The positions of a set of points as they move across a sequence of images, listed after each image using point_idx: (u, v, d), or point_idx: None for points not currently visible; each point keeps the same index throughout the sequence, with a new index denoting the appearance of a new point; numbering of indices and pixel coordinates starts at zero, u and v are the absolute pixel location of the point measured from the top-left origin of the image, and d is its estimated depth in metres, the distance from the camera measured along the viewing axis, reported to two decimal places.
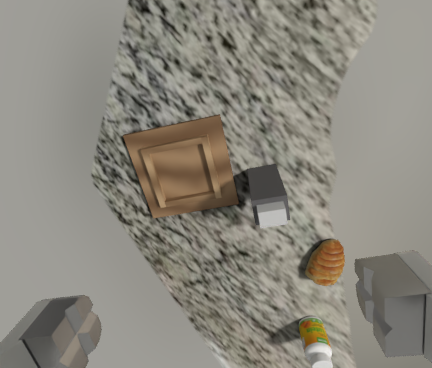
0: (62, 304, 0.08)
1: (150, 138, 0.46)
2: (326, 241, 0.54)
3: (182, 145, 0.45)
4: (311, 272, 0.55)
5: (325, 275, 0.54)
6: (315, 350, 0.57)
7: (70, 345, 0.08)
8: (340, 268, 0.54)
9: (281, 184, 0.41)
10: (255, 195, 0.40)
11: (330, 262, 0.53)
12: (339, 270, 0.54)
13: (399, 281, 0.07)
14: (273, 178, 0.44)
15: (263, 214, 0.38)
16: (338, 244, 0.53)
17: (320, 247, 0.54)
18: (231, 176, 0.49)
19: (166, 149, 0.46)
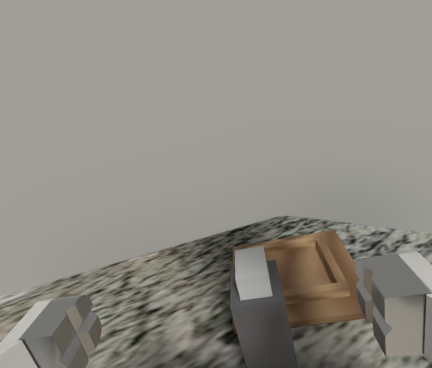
0: (62, 304, 0.08)
1: (334, 247, 0.41)
2: None
3: (331, 264, 0.36)
4: None
5: None
6: None
7: (70, 345, 0.08)
8: None
9: (290, 331, 0.22)
10: None
11: None
12: None
13: (399, 281, 0.07)
14: None
15: (259, 251, 0.23)
16: None
17: None
18: None
19: (324, 252, 0.38)
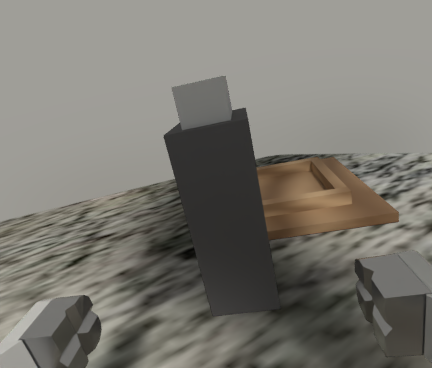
0: (62, 304, 0.08)
1: (333, 168, 0.33)
2: None
3: (328, 176, 0.28)
4: None
5: None
6: None
7: (70, 345, 0.08)
8: None
9: None
10: None
11: None
12: None
13: (399, 281, 0.07)
14: None
15: None
16: None
17: None
18: None
19: (320, 168, 0.31)
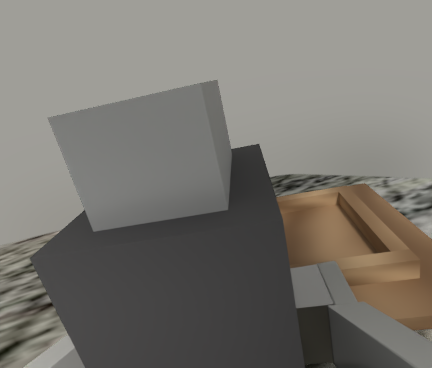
0: None
1: (369, 204, 0.24)
2: None
3: (373, 223, 0.19)
4: None
5: None
6: None
7: None
8: None
9: None
10: None
11: None
12: None
13: (309, 292, 0.07)
14: None
15: None
16: None
17: None
18: None
19: (355, 207, 0.22)
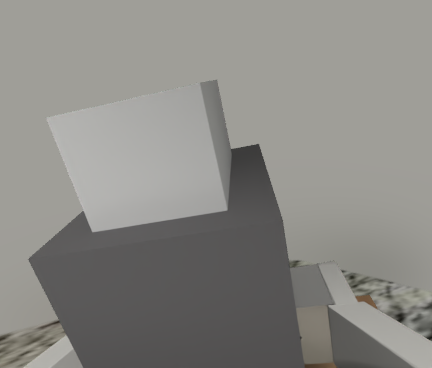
0: None
1: None
2: None
3: None
4: None
5: None
6: None
7: None
8: None
9: None
10: None
11: None
12: None
13: (309, 291, 0.07)
14: None
15: None
16: None
17: None
18: None
19: None
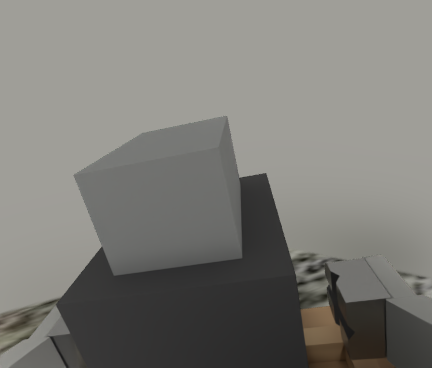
0: None
1: None
2: None
3: None
4: None
5: None
6: None
7: None
8: None
9: None
10: None
11: None
12: None
13: (362, 285, 0.07)
14: None
15: (211, 122, 0.07)
16: None
17: None
18: None
19: None
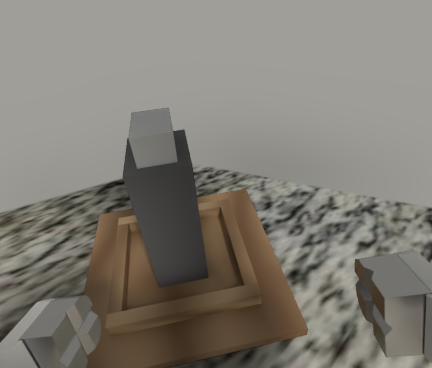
0: (62, 304, 0.08)
1: (244, 216, 0.29)
2: None
3: (238, 251, 0.24)
4: None
5: None
6: None
7: (70, 345, 0.08)
8: None
9: (197, 204, 0.19)
10: None
11: None
12: None
13: (399, 281, 0.07)
14: None
15: (163, 112, 0.18)
16: None
17: None
18: (154, 361, 0.19)
19: (229, 228, 0.26)
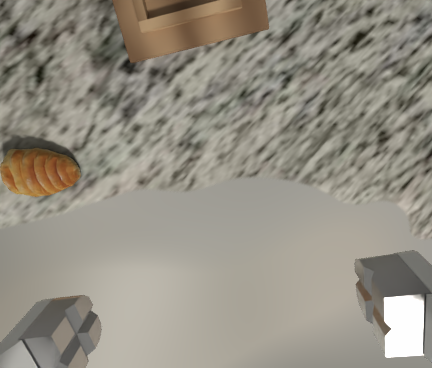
0: (62, 304, 0.08)
1: None
2: (72, 160, 0.38)
3: None
4: (15, 154, 0.36)
5: (18, 174, 0.36)
6: None
7: (70, 345, 0.08)
8: (39, 191, 0.38)
9: None
10: None
11: (44, 174, 0.37)
12: (36, 190, 0.38)
13: (399, 281, 0.07)
14: None
15: None
16: (74, 177, 0.38)
17: (60, 155, 0.37)
18: (175, 49, 0.32)
19: None
